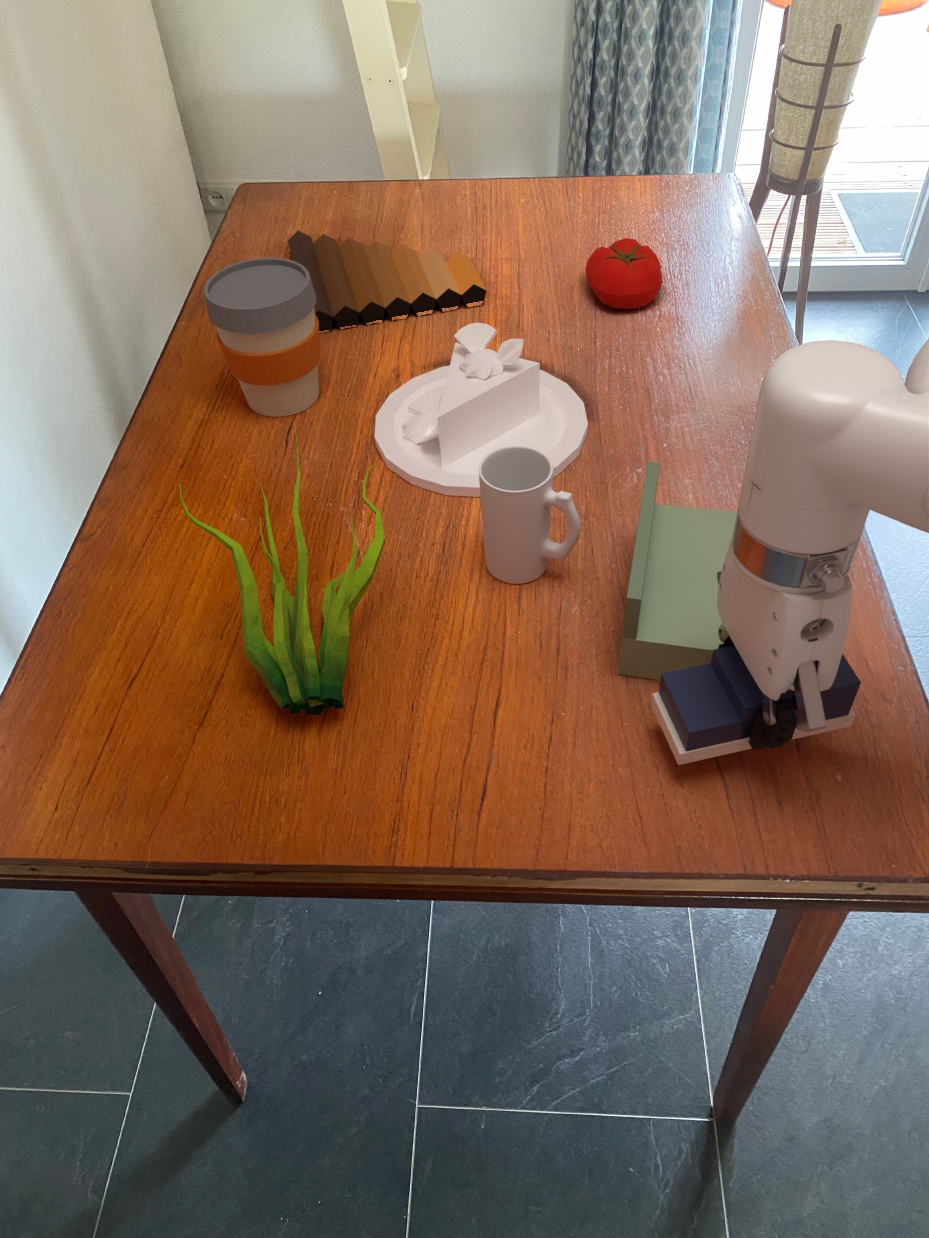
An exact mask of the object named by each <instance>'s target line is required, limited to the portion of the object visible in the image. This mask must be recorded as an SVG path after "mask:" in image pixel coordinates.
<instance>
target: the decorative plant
mask: <svg viewBox="0 0 929 1238" xmlns="http://www.w3.org/2000/svg"><path fill="white" fill-rule="evenodd" d="M293 427H294V433H295V441H298V436H297V429H296V423H295V422H293ZM374 466H376V464H375V463H373V464H372V465H371V466H370V467H369V468H368V469H367V470H366V473H365V476H364V480H363V484H362V500H363V502H364V503H365V504H366V505H367V506H368V507H369V509H370V510H371V511H372V512H373V513H374V515H375V526H374V527H375V531H374V538H373V539H372V542H371V536H369V537H368V542H367V547H366V553H365V555H364V557H363V560H362V562H361V563H360V565H359V567H358V568H357V569H356V570H355V567H356V562H357V558H358V547H357V538H356V537H357V535H356V531H355V526H354V521H353V517H350V520H351V526H352V527H351V528H352V556H351V558H350V560H349V563H348V566H347V568H346V569H345V570H346V571H345V572H344V573H342V574H340V575H337V577H335V578H333V579H331V580H330V581H328V582H326V584H325V587H324V594H323V599H322V604H321V613H322V617H323V627H322V631H321V632H322V633H321V638H320V644H319V657H318V654H317V650H316V646H315V642H314V639H313V634H312V631H311V627H310V626H311V625H310V616H309V606H308V581H309V580H308V579H309V576H308V575H309V552H308V548H307V544H306V543H307V542H306V539H305V535H304V531H303V526H302V523H301V518H300V490H301V489H300V488H301V469H300V459H299V444H298V442H296V470H297V477H296V482H295V485H294V495H293V504H292V505H293V506H292V516H293V524H294V532H295V539H296V540H295V541H296V547H297V561H296V573H295V584H294V596H293V594H292V593H291V592H290V591H289V590H288V588H287V587H286V580H285V578H284V576H283V574H282V572H281V567H280V561H279V556H278V551H277V548H276V544H275V540H274V535H273V531H272V525H271V519H270V514H269V507H268V500H267V498H266V495H265V492H264V490H263V486H262V483H259V486H260V489H261V495H262V499H263V503H264V519H265V528H266V529H265V530H266V537H267V543H268V548H269V551H268V548H267V546H266V543H265V539H264V535H263V531H262V517H261V516H259V526H260V536H261V537H260V538H261V544H262V547H263V551H264V554H265V556H266V558H267V560H268V562H269V564H270V566H271V569H272V571H271V585H270V587H271V588H270V593H271V595H272V598H273V600H274V602H273V603H274V606H273V645H272V644H271V642H270V641H269V639H267V637H266V636H265V633H264V627H263V620H262V613H261V606H260V599H259V594H258V587H257V581H256V578H255V575H254V573H253V571H252V568H251V566H250V563H249V561H248V559H247V556H246V554H245V551H244V548H243V546H242V545H241V544H240V543H239V542H237V541H236V540H234V539H233V538H231V537H230V536H228V535H226V534H225V533H224V532H222V531H220V530H219V529H217V528H214V527H213V526H210V525H208V524H206V523H204V522H202V521H200V520H198V519H197V518H196V517H195V516H193V514H191V513H190V511H189V510H188V507H187V506H186V504H185V501H184V500H183V496H182V488H181V486H182V485H181V483H178V485H179V495H180V502H181V503H182V507H183V509H184V513H185V514H186V516H187V517H188V518H189V520H191V521H192V523H193V524H194V525H196V526H197V527H199V528H200V529H201V530H203V531H205V532H207V533H208V534H210V535H212V536H213V537H214V538H215V539H217V540H218V541H219V542H220V543H221V544H222V545H223V546H224V547H225V548H227V549H228V550H229V551H230V552H231V556H232V561H233V565H234V569H235V573H236V579H237V584H238V587H239V591H240V609H241V611H240V613H241V629H242V631H241V632H242V642H243V644H242V645H243V654H244V656H245V658H246V659H247V660H248V661H249V662H250V664H251V665H252V666H253V668H254V670H255V671H256V672H257V673H258V674H259V676H260V678H261V679H262V682H263V683H264V685H265V686H266V688H267V690H268V692H269V693H270V695H271V697H272V698H273V700H274V701H275V702H276V704H277V705H278V707H279V708H280V709H281V710H289V712H290V714H291V715H298V714H302V712H301V711H303V713H304V715H305V716H320V715H321V714H323V712H324V711H325V710H329V709H335V710H344V708H345V707H344V705H345V702H344V696H343V689H344V682H345V676H346V675H345V674H346V669H347V668H346V667H347V664H348V663H349V642H350V636H351V635H350V622H351V618H352V616H353V614H354V613H355V610H356V608H357V607H358V605H359V603H360V602H361V600H362V598H363V596H364V594H365V593H366V591H367V590H368V587H369V586H370V584H371V583H372V581H373V578H374V576H375V572H376V570H377V567H378V564H379V560H380V558H381V556H382V552H383V549H384V547H385V543H386V539H385V538H386V537H385V531H384V526H383V520H382V513H381V511H380V510H379V509H378V508H377V507H376V506H375V505H374V504H373V503H372V502H371V501H370V500H369V499H368V498H367V491H366V486H367V481H368V476H369V472H370V471H371V470H372V468H373V467H374ZM370 542H371V544H370ZM338 587H339V589H338V590H337V592H336V589H337V588H338Z"/></svg>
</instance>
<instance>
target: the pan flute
mask: <svg viewBox="0 0 929 1238" xmlns="http://www.w3.org/2000/svg"><path fill="white" fill-rule="evenodd" d="M287 243H288V248H289V251H290V256H291V260H292V261H295V262H297V263H299V264H301V265H303V266H304V267H305V268H306V269H307V270H308V272H309V274H310V278H311V281H312V284H313V287H314V291H315V294H316V304H315V307H314V311H315V315H316V316H317V318H318V321H319V331H324V330H330V329H331V330H332V329H333V328H332V327H333V322H334V321H335V322H336V324H337V327H338V328H339V327H345V326H352V325H356V324H357V325H358V323H359V317H360V316H361V319H362V321H363V322H364V324H365V323H369V322H373V321H376V320H384V315H385V312H387V314H388V317H389V318H390V319H391V318H392V317H395V316H402V315H407V314H408V315H409V314H410V310H411V307H412V309H413V311H414V313H415V314H416V313H418V312H424V311H429V310H435V307H436V303H437V304H438V306H439V309H440V310H441V309H442V308H450V307H455V306H460V303H461V300H462V301H463V302H465V303H464V305H465V304H468V303H473V302H479V301H484V302H485V299H486V295H487V291H488V290H487V288H486V286H485V284H484V283H483V280H482V279H481V276H480V275H479V273H478V272H477V269H476V267H475V265H474V264H473V262H472V260H471V258H470V257H468V256H466V255H464V254H462V253H461V252H459V251H456V252H455V253H454V254H453V255H452V256H450V257H449V259H448V260H445V258H444V255H443V253H440V252H438V251H436V250H435V249H433V248H430V247H428V248H427V250H425V251H424V252H423V254H421V255H420V256H419V257H418V255H417V252H416V250H414V249H412V248H410V247H408V246H406V245H404V244H401V245H399V247H397V248H396V249H395V250H394V251H393V252H392V253H391V250H390V248H389V247H388V246H387V245H384V244H382V243H381V242H378V241H377V240H375V241H373V242H372V243H371V244H370V245H369V246H368V247H367V248H366V249H365V248H364V245H363V243H361V242H360V241H358V240H356V239H354V238H352V237H347V238H346V239H345V240H344V241H343V242H342V243H341V245H340V246H339V244H338V241H337V240H336V239H334V238H333V237H331V236H328V235H327V234H326V233H325V234H324V233H322V234H321V235H320V236H319V237H318V238H317V239H316V240H315V241H314V242H313V239H312V236H310V235H309V234H306V233H304V232H302V231H300V230H296V231H295V233H294V234H292V235H291V236H290V238H288V239H287ZM333 320H334V321H333Z"/></svg>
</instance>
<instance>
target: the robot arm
mask: <svg viewBox="0 0 929 1238" xmlns="http://www.w3.org/2000/svg"><path fill="white" fill-rule="evenodd" d="M745 462H746V463H745V468H744V473H743V480H742V485H741V489H740V494H739V500H738V505H737V511H736V512H737V515H736V521H735V526H734V531H733V536H732V538H731V541H730V544H729V547H728V550H727V553H726V557H725V560H724V564H723V568H722V571H720V572H717V581H718V586H719V587H718V594H717V610H718V613H719V616H720V618H721V621H722V624H721V626H720V627H719V628H718V636H719V639H720V641H721V642H724V644H719V648H724V647H728V646H733V645H735V647H736V649H737V650H738V652H739V654H740V656H741V657H742V659H743V661H744V663H745V665H746V666H747V668H748V670H749V672H750V673H751V675H752V677H753V678H754V680H755V682H756V683H757V685H758V687H759V688H760V690H761V691H762V692H763V710H762V711H759V712H757V713H756V717H755V720H754V724H753V728H752V732H751V736H750V740H749V744H750V746H751V748H752V749H751V750H759V749H763V748H767V747H768V748H770V749H775V748H780V747H783V746H784V745H787V744H788V742H790V741H792V740H793V739H792V737H793V734H794V731H795V728H797V729H799V730H802V731H805V732H810V731H814V730H818V729H823V728H825V727H826V720H825V715H824V710H823V704H822V699H821V694H820V692H821V691H824V690H827V689H830V687H831V686H832V684H833V682H834V679H835V677H836V674H837V670H838V667H839V664H840V660H841V656H842V654H843V652H844V648H845V645H846V640H847V636H848V635H847V634H848V630H849V624H850V618H851V611H852V610H851V608H852V595H853V594H852V593H853V591H852V590H853V585H852V581H851V579H850V577H849V575H848V574H849V573H850V572H851V568H852V566H853V562H854V559H855V556H856V554H857V550H858V547H859V544H860V541H861V538H862V535H863V532H864V528H865V525H866V522H867V519H868V516H869V514H870V511H872V512H874V513H877V514H879V515H882V516H884V517H886V518H889V519H891V520H894V521H897V522H898V523H901V524H904V525H906V526H909V527H911V528H914V529H916V530H919V531H922V532H924V533H927V534H929V338H928V339H927V340H926V341H925V342H924V344H923V345H922V346H921V347H920V349H919V350H918V351H917V353H916V354H915V356H914V358H913V359H912V362H911V363H910V366H909V367H908V370H907V372H906V376H905V380H904V377H903V375H902V373H901V371H900V369H899V368H898V366H897V365H896V364H895V363H894V362H893V360H891V359H889V358H888V357H887V356H885V355H884V354H882V353H881V352H879V351H878V350H875V349H874V348H871V347H869V346H866V345H863V344H860V343H855V342H852V341H851V342H850V341H846V340H835V339H834V340H827V339H825V340H815V341H809V342H805V343H802V344H799V345H796V346H793V347H790V348H789V349H787V350H785V351H783V352H782V353H781V354H780V355H779V356H778V357H776V358H775V359H774V360H773V361H772V363H771V364H770V365H769V367H768V368H767V369H766V371H765V374H764V376H763V378H762V381H761V385H760V390H759V394H758V398H757V404H756V409H755V415H754V420H753V425H752V430H751V436H750V442H749V445H748V452H747V457H746V461H745ZM719 648H718V649H719ZM788 692H792V702H785V703H780V704H777V700H778V699H779V697H780V695H781V694H783V693H788ZM791 739H792V740H791Z"/></svg>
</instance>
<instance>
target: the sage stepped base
mask: <svg viewBox="0 0 929 1238" xmlns="http://www.w3.org/2000/svg"><path fill="white" fill-rule="evenodd" d="M660 468H661V462H656V461H647V462H646V468H645V473H644V474H645V476H644V480H643V481H644V482H643V488H642V493H641V494H642V495H641V502H640V508H639V514H638V519H637V520H638V521H637V527H636V534H635V540H634V547H633V553H632V558H631V560H632V561H631V567H630V573H629V578H628V585H627V592H626V598H625V608H624V618H623V625H622V634H621V642H620V651H619V662H618V671H617V675H620V676H626V677H633V678H641V679H648V680H655V681H661V674H663V673H668V672H672V671H677V670H681V669H686V668H691V667H695V666H700V665H705V664H709V663H711V659H712V654H713V650H714V649H718V648H719V644H724V642H721V641H720V639H719V636H718V628H719V627H720V626H721V624H722V621H721V618H720V616H719V613H718V610H717V594H718V587H719V586H718V581H717V572H720V571H722V568H723V564H724V560H725V557H726V553H727V550H728V547H729V544H730V541H731V538H732V536H733V531H734V526H735V521H736V515H737V511H728V510H719V509H710V508H701V507H691V506H682V505H673V504H663V503H656V498H657V491H658V484H659V477H660Z"/></svg>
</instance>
